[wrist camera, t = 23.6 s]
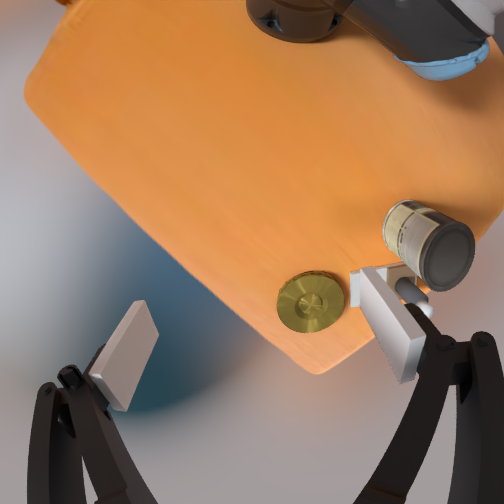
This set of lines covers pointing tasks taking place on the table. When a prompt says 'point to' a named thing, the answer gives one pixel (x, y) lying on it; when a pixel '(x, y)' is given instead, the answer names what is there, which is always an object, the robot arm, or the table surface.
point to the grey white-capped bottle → (413, 295)
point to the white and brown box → (389, 276)
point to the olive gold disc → (310, 302)
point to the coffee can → (429, 243)
